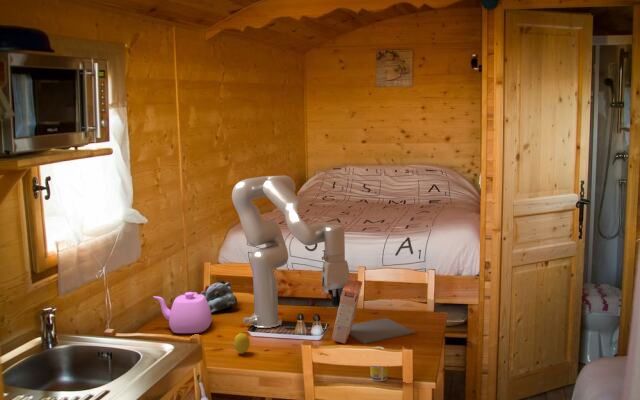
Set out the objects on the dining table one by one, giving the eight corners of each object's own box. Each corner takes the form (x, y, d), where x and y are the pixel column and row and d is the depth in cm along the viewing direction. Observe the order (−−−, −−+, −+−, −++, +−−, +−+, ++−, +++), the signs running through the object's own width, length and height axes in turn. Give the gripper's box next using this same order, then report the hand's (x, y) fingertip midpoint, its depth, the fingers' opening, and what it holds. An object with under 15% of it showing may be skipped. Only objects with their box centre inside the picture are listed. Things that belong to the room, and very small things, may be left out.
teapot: (216, 319, 292) (214, 284, 289) (208, 336, 271) (206, 298, 269) (162, 320, 292) (160, 285, 290) (149, 337, 271) (147, 299, 269)
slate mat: (364, 343, 258) (364, 342, 258) (337, 328, 276) (337, 327, 276) (414, 333, 269) (414, 331, 269) (386, 319, 286) (386, 317, 286)
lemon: (234, 351, 253) (233, 330, 252) (250, 350, 254) (249, 329, 252) (234, 357, 248) (233, 335, 247) (249, 356, 248) (249, 334, 247)
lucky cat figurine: (202, 315, 296) (194, 284, 300) (209, 318, 308) (201, 288, 312) (236, 304, 296) (227, 273, 300) (241, 307, 308) (233, 277, 312)
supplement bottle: (384, 374, 229) (384, 344, 228) (389, 381, 224) (389, 350, 222) (368, 376, 228) (368, 346, 227) (372, 382, 223) (372, 352, 221)
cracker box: (346, 344, 258) (357, 293, 253) (330, 340, 259) (341, 289, 254) (352, 330, 271) (363, 280, 266) (337, 326, 272) (347, 277, 267)
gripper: (321, 262, 253) (322, 311, 255) (357, 257, 260) (358, 304, 262) (312, 258, 260) (313, 306, 262) (347, 253, 266) (348, 300, 269)
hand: (335, 305), depth 262 cm, fingers closed
